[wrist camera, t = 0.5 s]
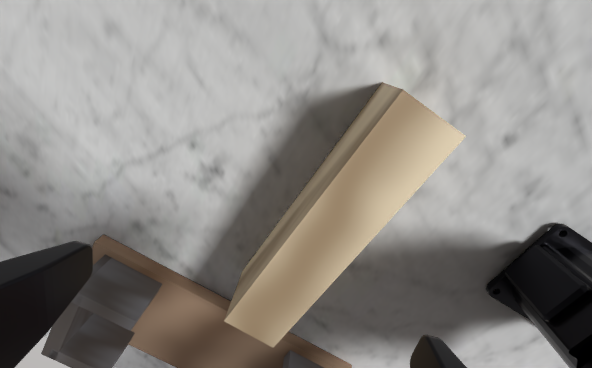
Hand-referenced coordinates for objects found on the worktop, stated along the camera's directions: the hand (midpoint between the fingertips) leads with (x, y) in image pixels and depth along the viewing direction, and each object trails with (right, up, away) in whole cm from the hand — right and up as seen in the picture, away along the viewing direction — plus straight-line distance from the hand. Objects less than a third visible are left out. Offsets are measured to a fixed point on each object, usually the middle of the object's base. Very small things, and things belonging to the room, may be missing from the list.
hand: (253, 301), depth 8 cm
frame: (-6, -9, +17) cm, 20 cm away
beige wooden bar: (+3, +2, +12) cm, 13 cm away
